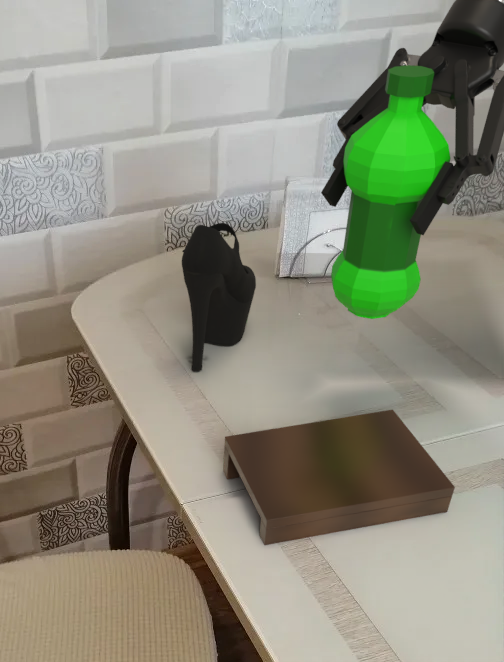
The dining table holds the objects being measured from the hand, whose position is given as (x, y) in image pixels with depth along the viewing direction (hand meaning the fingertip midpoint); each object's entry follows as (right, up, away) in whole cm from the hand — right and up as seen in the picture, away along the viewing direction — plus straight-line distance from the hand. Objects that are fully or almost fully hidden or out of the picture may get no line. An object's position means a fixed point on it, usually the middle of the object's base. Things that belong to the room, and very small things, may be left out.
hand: (370, 213), depth 83 cm
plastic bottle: (+3, -8, +9) cm, 13 cm away
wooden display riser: (-3, -30, +4) cm, 30 cm away
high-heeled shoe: (-13, -8, +29) cm, 33 cm away
